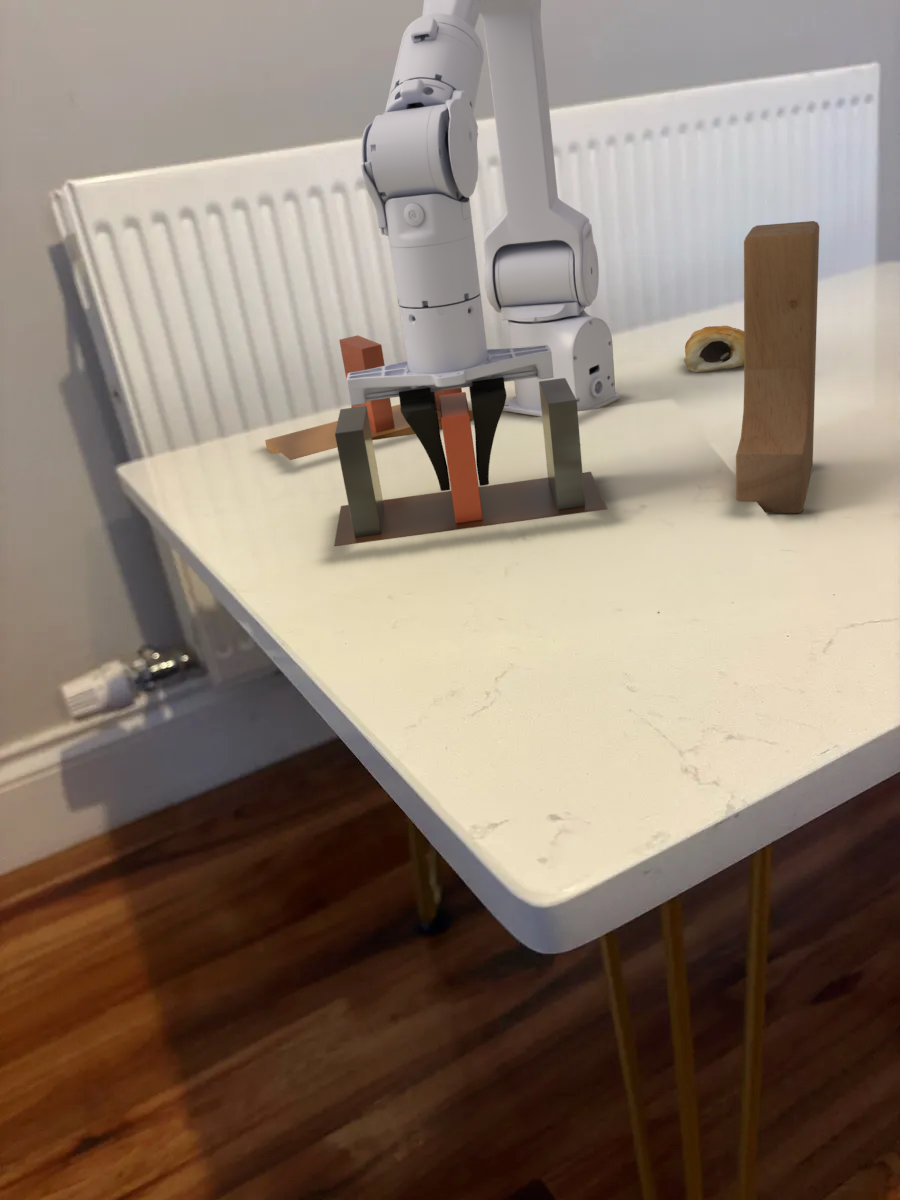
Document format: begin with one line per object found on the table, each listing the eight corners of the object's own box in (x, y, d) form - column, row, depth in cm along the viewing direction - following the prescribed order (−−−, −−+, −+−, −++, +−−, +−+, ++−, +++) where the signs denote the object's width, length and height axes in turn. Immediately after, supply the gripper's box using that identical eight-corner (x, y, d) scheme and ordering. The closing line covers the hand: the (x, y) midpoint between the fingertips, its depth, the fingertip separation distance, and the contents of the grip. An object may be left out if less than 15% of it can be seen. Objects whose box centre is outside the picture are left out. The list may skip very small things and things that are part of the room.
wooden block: (802, 515, 71) (809, 243, 63) (735, 513, 72) (733, 249, 64) (812, 468, 78) (820, 219, 70) (751, 467, 80) (751, 225, 72)
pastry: (688, 350, 112) (688, 314, 111) (752, 346, 111) (753, 310, 109) (683, 374, 105) (682, 336, 103) (752, 370, 103) (753, 332, 101)
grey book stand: (591, 483, 81) (583, 371, 77) (608, 521, 74) (600, 400, 70) (342, 517, 82) (321, 408, 78) (335, 558, 75) (312, 440, 71)
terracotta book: (478, 491, 80) (465, 391, 77) (483, 520, 75) (469, 414, 71) (453, 494, 80) (439, 395, 77) (455, 524, 75) (440, 418, 71)
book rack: (440, 403, 107) (427, 316, 103) (474, 419, 100) (463, 327, 96) (266, 449, 101) (246, 359, 97) (292, 470, 94) (271, 373, 90)
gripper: (331, 326, 67) (366, 516, 73) (551, 294, 67) (567, 489, 73) (338, 305, 74) (370, 482, 80) (539, 276, 73) (555, 456, 79)
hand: (464, 483), depth 77 cm, fingers closed
